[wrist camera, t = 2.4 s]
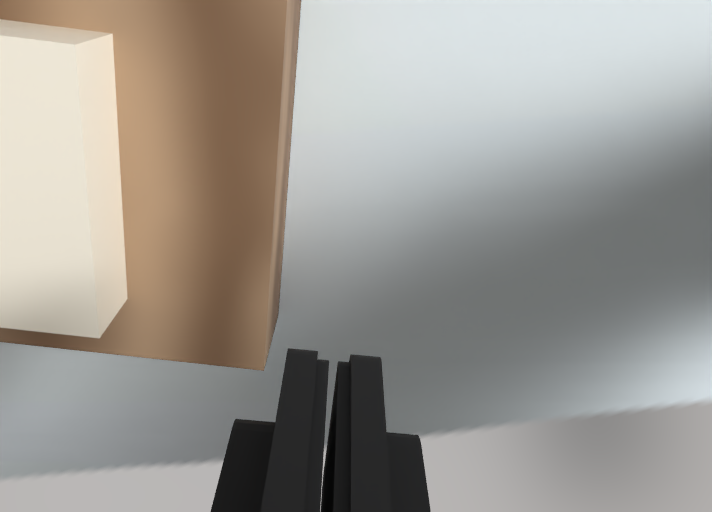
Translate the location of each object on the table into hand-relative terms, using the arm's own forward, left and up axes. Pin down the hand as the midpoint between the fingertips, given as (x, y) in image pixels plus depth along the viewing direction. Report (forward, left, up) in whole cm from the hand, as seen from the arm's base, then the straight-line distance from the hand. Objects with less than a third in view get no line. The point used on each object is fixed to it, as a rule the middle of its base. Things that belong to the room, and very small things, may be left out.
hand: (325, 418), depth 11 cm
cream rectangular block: (+10, 0, -10) cm, 14 cm away
